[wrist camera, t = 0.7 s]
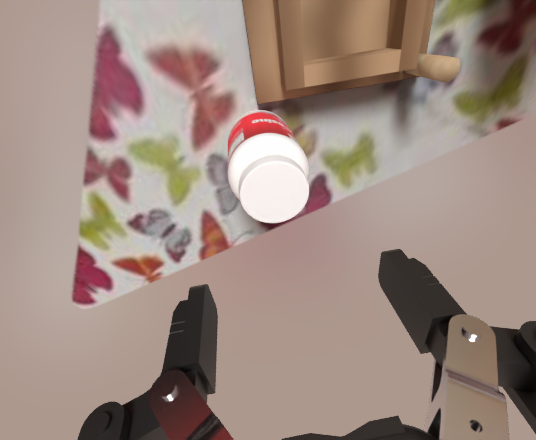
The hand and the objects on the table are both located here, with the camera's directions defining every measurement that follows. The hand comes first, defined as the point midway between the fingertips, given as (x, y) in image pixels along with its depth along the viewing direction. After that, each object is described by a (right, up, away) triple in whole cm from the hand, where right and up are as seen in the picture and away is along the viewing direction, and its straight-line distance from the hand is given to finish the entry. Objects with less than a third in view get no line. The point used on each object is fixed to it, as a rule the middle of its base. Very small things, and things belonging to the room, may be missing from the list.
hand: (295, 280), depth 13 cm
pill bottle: (-2, +11, +15) cm, 19 cm away
